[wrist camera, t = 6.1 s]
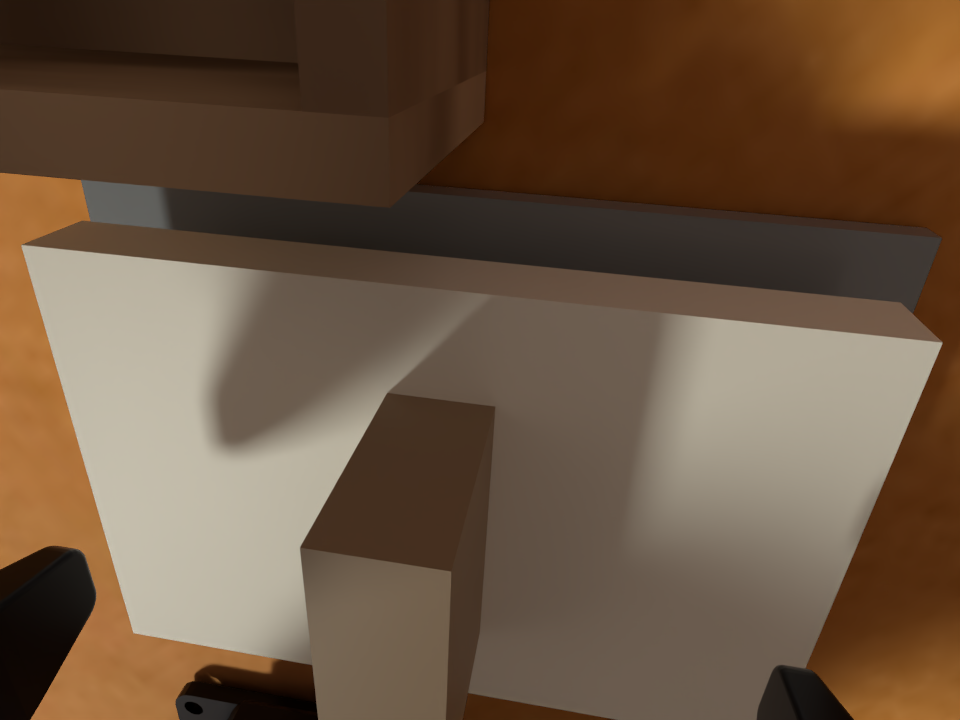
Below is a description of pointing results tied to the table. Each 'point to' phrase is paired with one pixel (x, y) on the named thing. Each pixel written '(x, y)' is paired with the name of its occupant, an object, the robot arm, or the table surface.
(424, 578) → the lid
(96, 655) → the table surface
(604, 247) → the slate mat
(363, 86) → the box
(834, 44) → the table surface
